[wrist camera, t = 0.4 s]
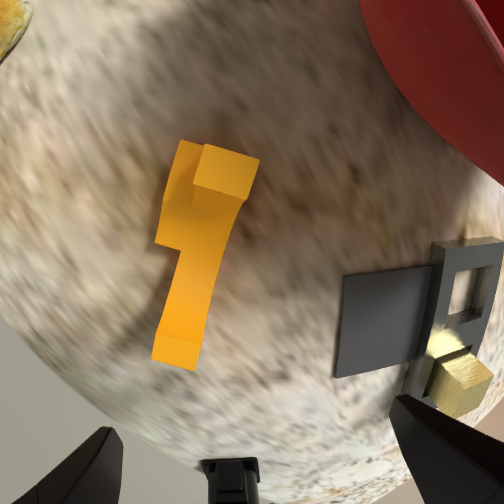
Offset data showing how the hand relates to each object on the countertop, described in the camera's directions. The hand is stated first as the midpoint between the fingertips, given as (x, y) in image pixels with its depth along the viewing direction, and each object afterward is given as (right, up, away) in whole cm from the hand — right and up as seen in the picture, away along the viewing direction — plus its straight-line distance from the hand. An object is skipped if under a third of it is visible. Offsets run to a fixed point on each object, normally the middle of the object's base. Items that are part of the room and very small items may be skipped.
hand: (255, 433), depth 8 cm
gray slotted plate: (+20, -3, +17) cm, 27 cm away
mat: (+12, -1, +16) cm, 20 cm away
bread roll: (-24, +26, +5) cm, 36 cm away
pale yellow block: (+20, -7, +18) cm, 29 cm away
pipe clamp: (-4, +7, +13) cm, 15 cm away
